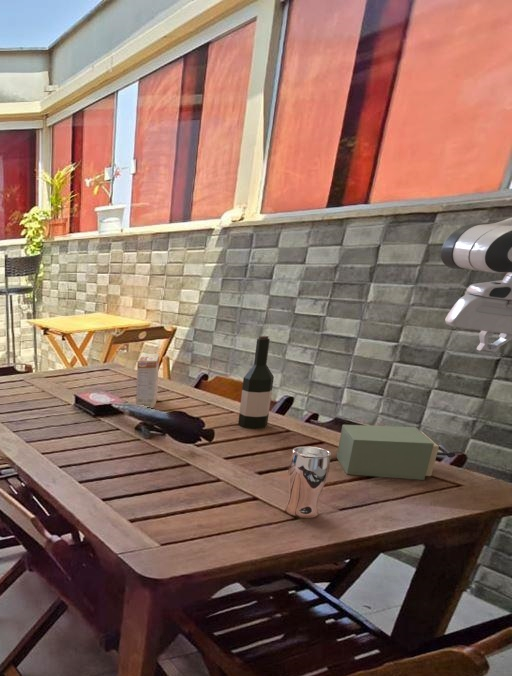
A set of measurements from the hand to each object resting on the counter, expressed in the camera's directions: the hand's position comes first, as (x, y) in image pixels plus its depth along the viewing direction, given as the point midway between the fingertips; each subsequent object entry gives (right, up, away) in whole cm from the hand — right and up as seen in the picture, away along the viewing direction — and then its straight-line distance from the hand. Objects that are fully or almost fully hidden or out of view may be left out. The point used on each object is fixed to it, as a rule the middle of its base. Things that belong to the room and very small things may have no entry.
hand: (485, 351), depth 117 cm
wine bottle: (-22, -15, +50) cm, 56 cm away
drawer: (-13, -28, +9) cm, 32 cm away
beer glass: (-49, -38, -5) cm, 62 cm away
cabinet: (-16, -29, +11) cm, 34 cm away
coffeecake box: (-40, -5, +86) cm, 95 cm away
